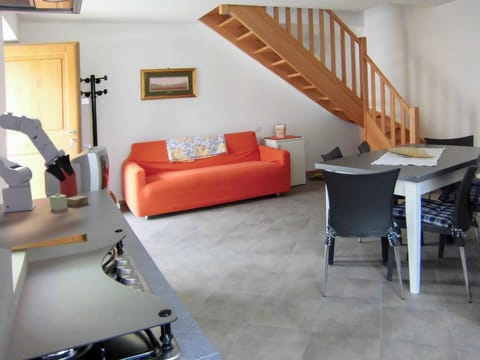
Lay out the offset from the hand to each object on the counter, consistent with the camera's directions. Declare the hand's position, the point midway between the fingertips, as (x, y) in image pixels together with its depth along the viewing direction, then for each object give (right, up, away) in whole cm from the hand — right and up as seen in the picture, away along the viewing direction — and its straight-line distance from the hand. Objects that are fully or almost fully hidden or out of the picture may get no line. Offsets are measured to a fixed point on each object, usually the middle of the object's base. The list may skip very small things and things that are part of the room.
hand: (67, 177), depth 157 cm
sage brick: (-3, -12, 0) cm, 12 cm away
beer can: (-8, -8, +22) cm, 24 cm away
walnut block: (+1, -11, +6) cm, 12 cm away
